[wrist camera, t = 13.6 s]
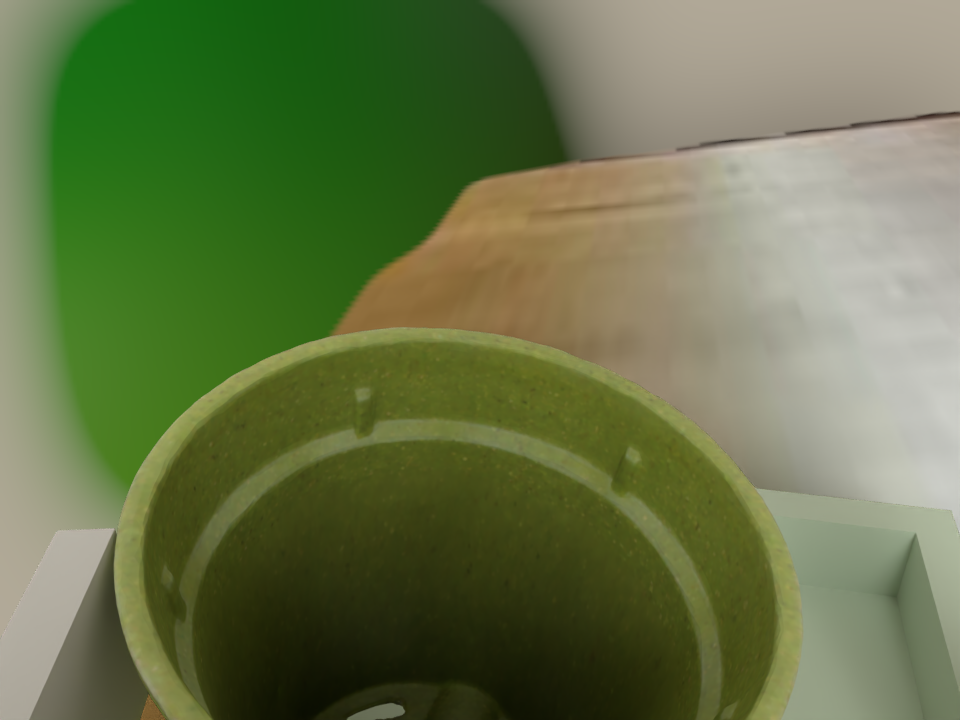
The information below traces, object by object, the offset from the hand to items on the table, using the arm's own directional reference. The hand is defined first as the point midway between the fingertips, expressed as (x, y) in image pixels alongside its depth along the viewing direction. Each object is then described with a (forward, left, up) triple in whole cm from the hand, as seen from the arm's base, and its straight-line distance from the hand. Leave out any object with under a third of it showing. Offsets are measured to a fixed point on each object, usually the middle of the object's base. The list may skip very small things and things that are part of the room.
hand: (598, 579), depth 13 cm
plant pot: (+1, -3, -8) cm, 9 cm away
